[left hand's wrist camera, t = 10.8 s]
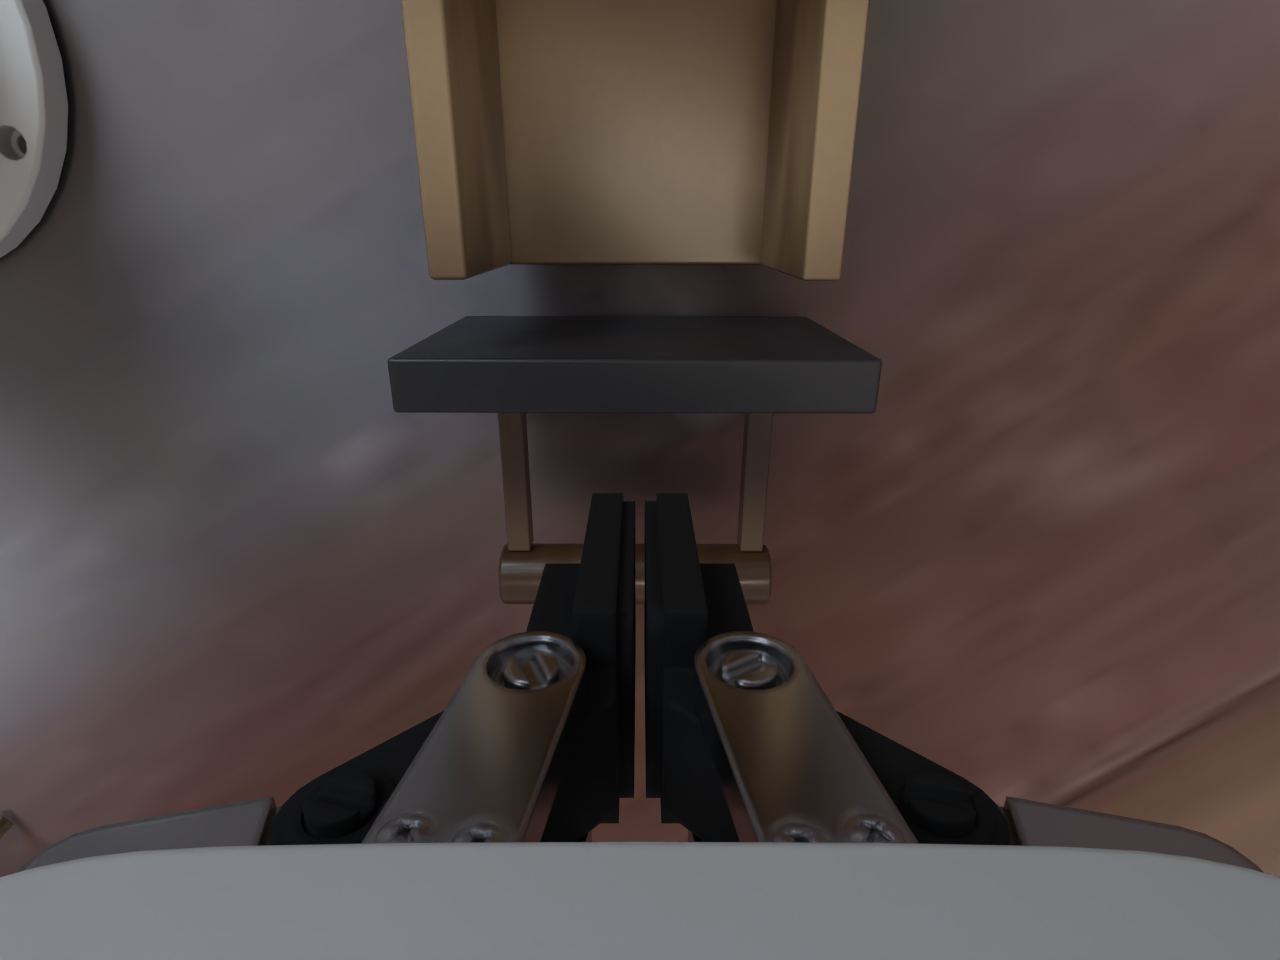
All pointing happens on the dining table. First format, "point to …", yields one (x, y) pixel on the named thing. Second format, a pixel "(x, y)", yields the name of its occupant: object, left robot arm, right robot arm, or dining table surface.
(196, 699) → the dining table surface
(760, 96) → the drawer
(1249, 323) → the dining table surface
